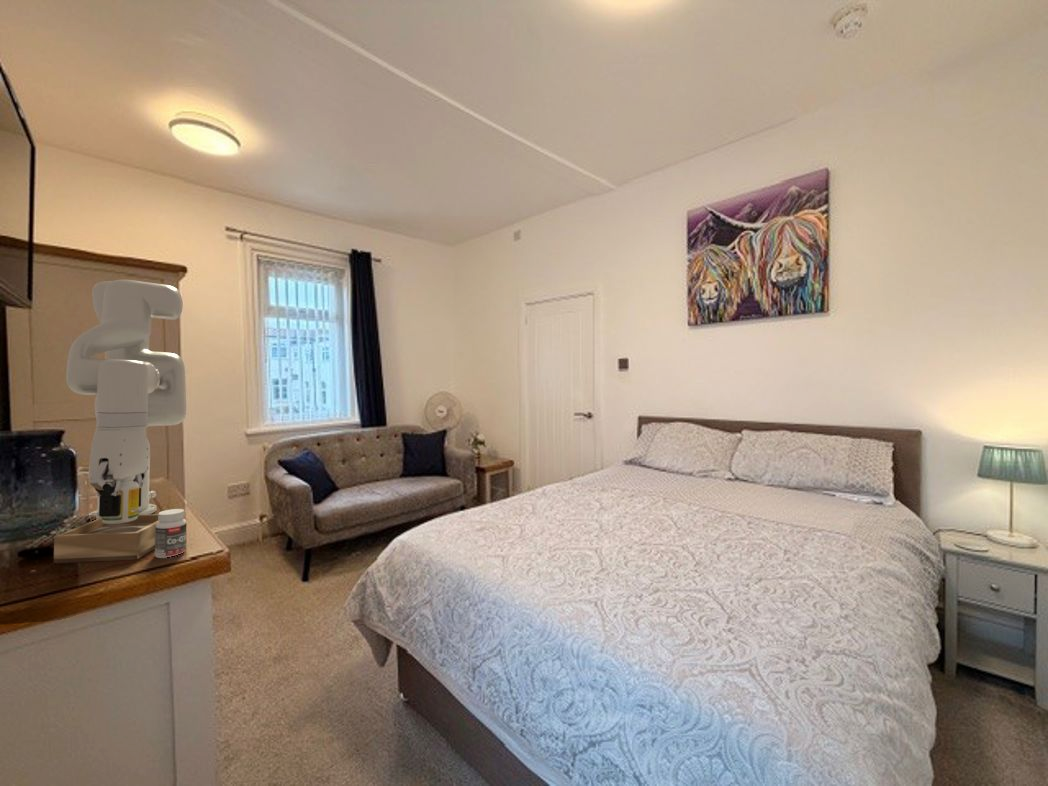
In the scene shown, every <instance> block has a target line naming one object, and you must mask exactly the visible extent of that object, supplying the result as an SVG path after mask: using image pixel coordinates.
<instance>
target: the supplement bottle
mask: <svg viewBox="0 0 1048 786" xmlns="http://www.w3.org/2000/svg"><path fill="white" fill-rule="evenodd" d="M112 477H113V476H112ZM112 477H108V479H113V478H112ZM134 479H135V475H133V476H130V477H128V478H126V479H123V480H121V484H120V488H119V492H118V495H121V514H120V515H119V516H109V517H102V522H103V523H104V524H120V523H126V522H130V521H133V520H136V519H137V518H138V508H139V484H138V483H137V482H135V481H133V480H134ZM109 485H110V486H111V487H113V483H109Z"/></svg>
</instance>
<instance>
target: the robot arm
mask: <svg viewBox="0 0 1048 786" xmlns="http://www.w3.org/2000/svg"><path fill="white" fill-rule="evenodd" d="M91 298H92V304H93V310H94V312H95V314H96V318H97V320H98V322H99V323H100V324H97V325H95V326H92V327H91V328H90V329H87V330H86V331H84V332H83V333H82V334H80V335H79V336H78V337H77V338H76V339H75V340H74V341H73V342H72V344H71V345H70V348H69V351H68V355H67V356H68V357H67V364H66V372H65V379H66V384H67V385H66V386H67V387H68V388H69V389H70V390H71V391H72V392H74V393H75V394H79V395H86V396H93V395H94V396H96V397H95V399H94V403H93V404H94V405H93V406H94V407H93V408H94V415H95V419H96V425H95V427H96V429H95V430H94V433H93V436H92V441H91V446H90V452H89V465H88V479H89V483H90V485H91V486H92V487H93V488H94V490H95V491H96V493H97V509H95V510H93V511H90V512H89V513H88V515H94V516H96V518H97V519H98V518H101V517H109V516H119V515H120V514H121V495H118V492H119V488H120V484H121V480H123V479H126V478H128V477H130V476H133V475H135V479H134V480H133V481H135V482H137V483H138V484H139V508H138V515H144V514H153V513H156V511H157V505H156V504H153V503H150V500H151V499H153V498H155V497H156V496H157V492H156V491H155V490H151V491H150V473H151V472H150V469H151V468H150V467H151V464H150V463H151V462H150V461H151V444H150V442H149V439H148V435H147V429H148V427H158V426H159V427H160V426H161V427H162V426H163V427H164V426H176V425H179V424H181V423H182V422H183V421H184V420H185V418H186V415H187V414H186V413H187V396H186V395H187V391H186V389H187V388H186V369H185V368H186V367H185V363H184V361H183V358H182V357H181V356H180V355H178V354H177V353H172V352H166V351H165V352H164V351H152V350H150V336H151V334H152V333H151V332H152V319H162V320H171V321H172V320H173V321H175V320H178V319H179V318H180V317H181V315H182V313H183V309H184V308H183V306H184V304H183V303H184V302H183V297H182V295H181V292H180V290H179V289H178V288H176V287H174V286H172V285H168V284H162V283H155V282H150V281H141V280H134V279H115V280H107V281H100V282H97V283H95V284H94V286H93V287H92V291H91ZM102 353H104V358H93V357H96V355H99V354H102ZM112 476H113V477H112ZM108 477H112V478H113V479H108ZM109 483H113V487H111V486H110V485H109Z"/></svg>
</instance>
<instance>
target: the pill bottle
mask: <svg viewBox="0 0 1048 786" xmlns="http://www.w3.org/2000/svg"><path fill="white" fill-rule="evenodd" d="M157 514H158V521H160V522H158V523H157V524H156V528H155V549H154V557H156V558H158V559H168V558H167V557H170V558H172V557H171V556H174V555H178V554H180V553H183V552H184V551H185V550H186V549H187V521H186V519H185V509H184V508H172V509H165V510H162V511H159V512H158V513H157ZM185 552H186V551H185ZM185 552H184V553H185ZM184 553H183V554H184ZM178 556H179V555H178Z"/></svg>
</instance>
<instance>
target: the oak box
mask: <svg viewBox="0 0 1048 786" xmlns="http://www.w3.org/2000/svg"><path fill="white" fill-rule="evenodd" d="M158 522H160V521H158V513H155V514H153V513H151V514H144V515H138V518H137V519H136V520H133V521H130V522H126V523H120V524H104V523H103V522H102V517H101V518H98V519H96V520H94V521H92V520H90V521H89V522H86V523H84V524H82V525H79V526H76V527H74V528H72V529H69V530H67V531H64V532H62V533H59V534H57V535H54V537H53V538H54V539H53V564H54V563H56V564H71V563H72V564H73V563H89V562H90V563H92V562H110V561H111V562H112V561H115V562H116V561H130V560H132V561H133V560H138V559H140V558H142V557H143V556H145V555H147V554H149V553H150V552H151V551H153V550H154V551H155V528H156V524H157V523H158Z"/></svg>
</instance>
